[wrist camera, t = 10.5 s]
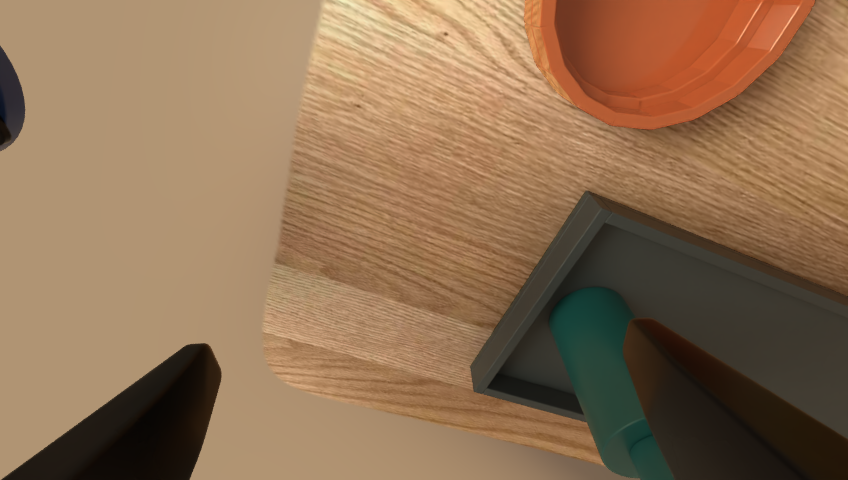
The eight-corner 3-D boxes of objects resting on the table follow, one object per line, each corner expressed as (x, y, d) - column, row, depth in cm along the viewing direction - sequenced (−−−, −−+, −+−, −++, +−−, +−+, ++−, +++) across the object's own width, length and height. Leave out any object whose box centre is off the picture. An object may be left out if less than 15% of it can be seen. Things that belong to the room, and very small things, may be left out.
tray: (469, 366, 26) (473, 392, 24) (585, 189, 20) (601, 207, 18) (942, 500, 35) (969, 526, 34) (1123, 408, 29) (1167, 434, 27)
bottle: (545, 346, 25) (627, 573, 15) (552, 288, 22) (654, 510, 13) (619, 342, 25) (750, 568, 15) (633, 283, 22) (798, 504, 13)
